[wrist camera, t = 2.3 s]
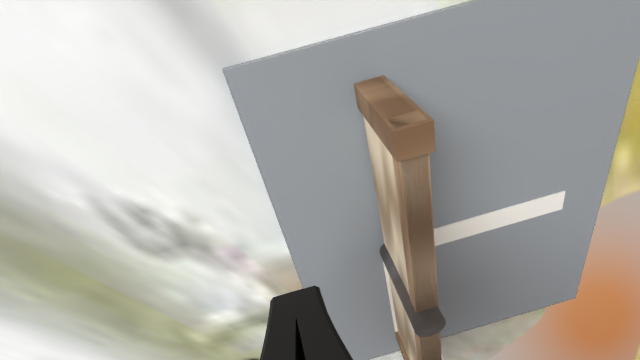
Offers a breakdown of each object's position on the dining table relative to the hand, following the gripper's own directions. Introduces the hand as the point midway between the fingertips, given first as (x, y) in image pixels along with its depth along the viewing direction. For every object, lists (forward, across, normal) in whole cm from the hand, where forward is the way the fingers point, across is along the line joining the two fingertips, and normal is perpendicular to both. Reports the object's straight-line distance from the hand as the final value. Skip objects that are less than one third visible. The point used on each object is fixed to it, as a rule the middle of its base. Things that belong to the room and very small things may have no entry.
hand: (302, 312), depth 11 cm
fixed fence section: (+9, -5, +12) cm, 16 cm away
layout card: (+9, -9, +7) cm, 15 cm away
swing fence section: (+9, -5, +2) cm, 10 cm away
